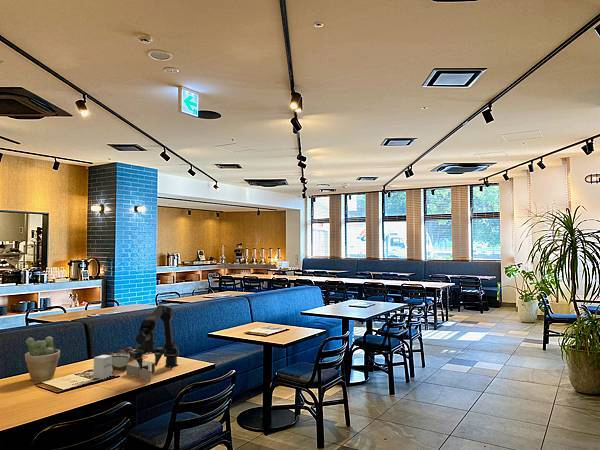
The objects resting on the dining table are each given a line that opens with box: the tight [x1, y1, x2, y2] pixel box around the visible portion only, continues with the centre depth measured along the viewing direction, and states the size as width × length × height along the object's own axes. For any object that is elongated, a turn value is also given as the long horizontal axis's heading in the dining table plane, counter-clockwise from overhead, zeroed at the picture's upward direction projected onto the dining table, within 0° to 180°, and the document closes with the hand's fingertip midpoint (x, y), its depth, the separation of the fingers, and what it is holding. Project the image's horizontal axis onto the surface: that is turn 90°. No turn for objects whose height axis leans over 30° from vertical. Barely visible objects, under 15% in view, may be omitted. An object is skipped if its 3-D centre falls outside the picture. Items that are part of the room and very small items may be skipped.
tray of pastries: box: [107, 346, 148, 364], centre depth 306 cm, size 28×17×8 cm, turn 162°
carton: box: [125, 359, 156, 378], centre depth 277 cm, size 12×12×6 cm
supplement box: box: [92, 354, 113, 380], centre depth 269 cm, size 7×7×13 cm
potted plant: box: [24, 336, 61, 382], centre depth 268 cm, size 18×19×25 cm
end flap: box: [138, 363, 152, 382], centre depth 265 cm, size 12×1×10 cm, turn 51°
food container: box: [111, 352, 130, 372], centre depth 287 cm, size 12×6×10 cm, turn 84°
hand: (148, 367), depth 261 cm, fingers open, 9 cm apart
